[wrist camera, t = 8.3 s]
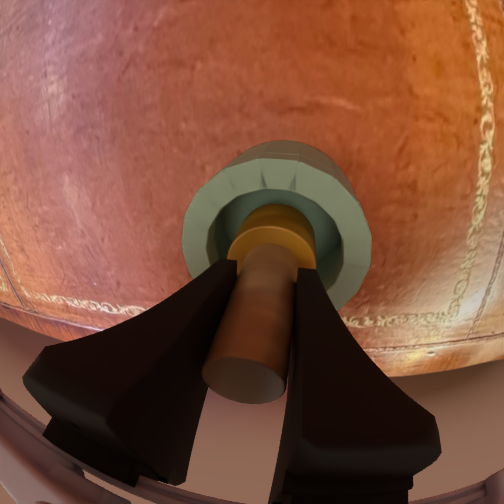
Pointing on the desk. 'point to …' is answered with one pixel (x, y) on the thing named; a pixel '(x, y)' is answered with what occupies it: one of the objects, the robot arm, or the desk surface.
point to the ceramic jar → (287, 193)
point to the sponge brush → (260, 306)
